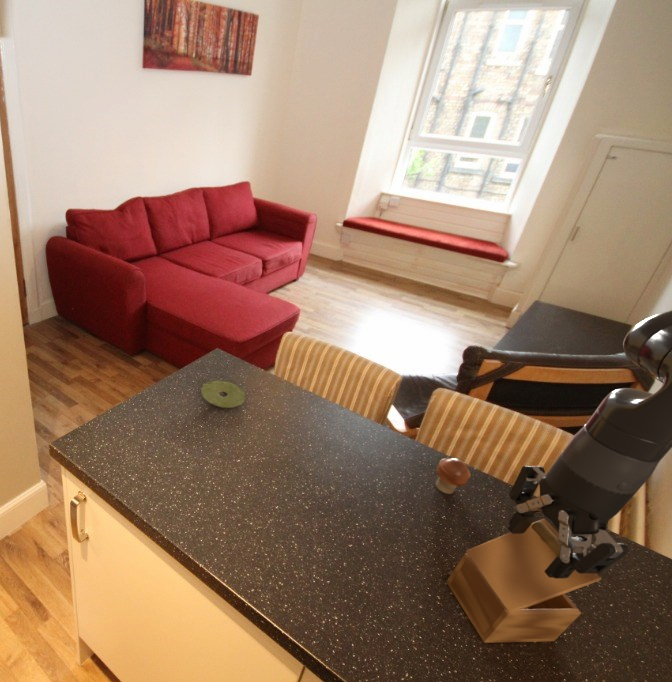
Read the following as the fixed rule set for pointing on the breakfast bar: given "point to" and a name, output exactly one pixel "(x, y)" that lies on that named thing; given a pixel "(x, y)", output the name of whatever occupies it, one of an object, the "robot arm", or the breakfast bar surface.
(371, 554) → the breakfast bar surface
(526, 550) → the lid
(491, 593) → the breadbox
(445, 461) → the mushroom
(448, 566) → the breakfast bar surface
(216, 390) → the green disc with hole
